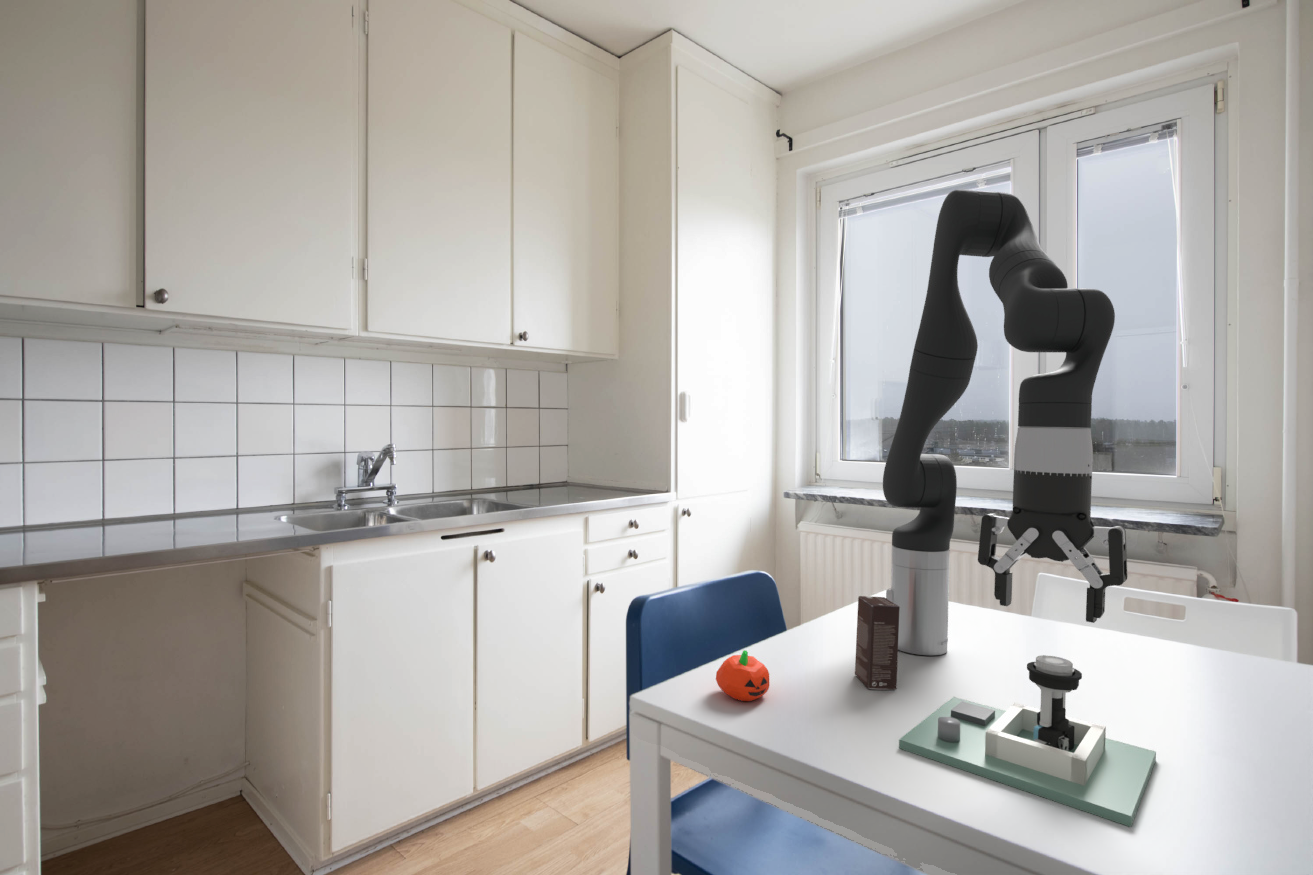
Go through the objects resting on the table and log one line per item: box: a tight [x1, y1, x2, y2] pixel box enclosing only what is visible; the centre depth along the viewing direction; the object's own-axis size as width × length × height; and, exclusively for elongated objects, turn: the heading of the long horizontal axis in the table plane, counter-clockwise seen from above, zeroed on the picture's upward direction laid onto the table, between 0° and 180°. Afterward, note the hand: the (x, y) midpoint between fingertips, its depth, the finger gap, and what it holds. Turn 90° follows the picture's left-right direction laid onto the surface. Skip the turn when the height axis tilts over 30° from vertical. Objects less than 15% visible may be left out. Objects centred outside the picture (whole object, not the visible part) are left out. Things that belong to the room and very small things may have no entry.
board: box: [898, 696, 1157, 828], centre depth 76 cm, size 22×18×4 cm
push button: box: [1026, 654, 1083, 751], centre depth 75 cm, size 7×5×10 cm
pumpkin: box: [715, 649, 770, 702], centre depth 92 cm, size 7×8×6 cm
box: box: [854, 595, 900, 691], centre depth 98 cm, size 6×4×12 cm
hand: (1047, 612), depth 75 cm, fingers open, 8 cm apart
